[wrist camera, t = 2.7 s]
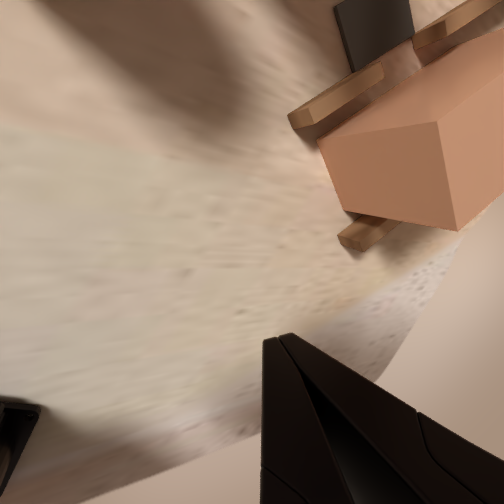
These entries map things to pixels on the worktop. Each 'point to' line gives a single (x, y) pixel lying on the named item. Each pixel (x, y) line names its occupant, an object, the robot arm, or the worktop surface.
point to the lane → (376, 73)
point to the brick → (427, 142)
